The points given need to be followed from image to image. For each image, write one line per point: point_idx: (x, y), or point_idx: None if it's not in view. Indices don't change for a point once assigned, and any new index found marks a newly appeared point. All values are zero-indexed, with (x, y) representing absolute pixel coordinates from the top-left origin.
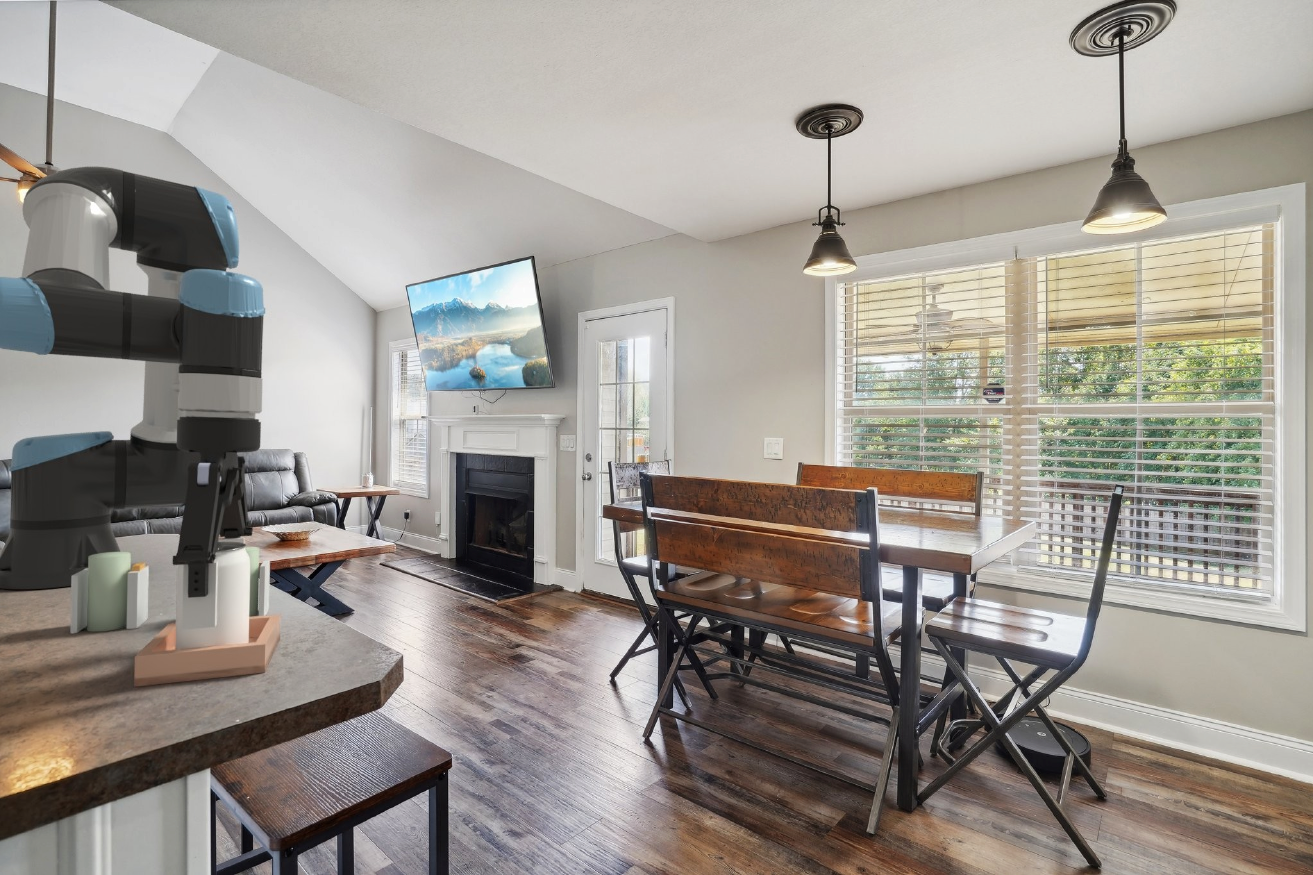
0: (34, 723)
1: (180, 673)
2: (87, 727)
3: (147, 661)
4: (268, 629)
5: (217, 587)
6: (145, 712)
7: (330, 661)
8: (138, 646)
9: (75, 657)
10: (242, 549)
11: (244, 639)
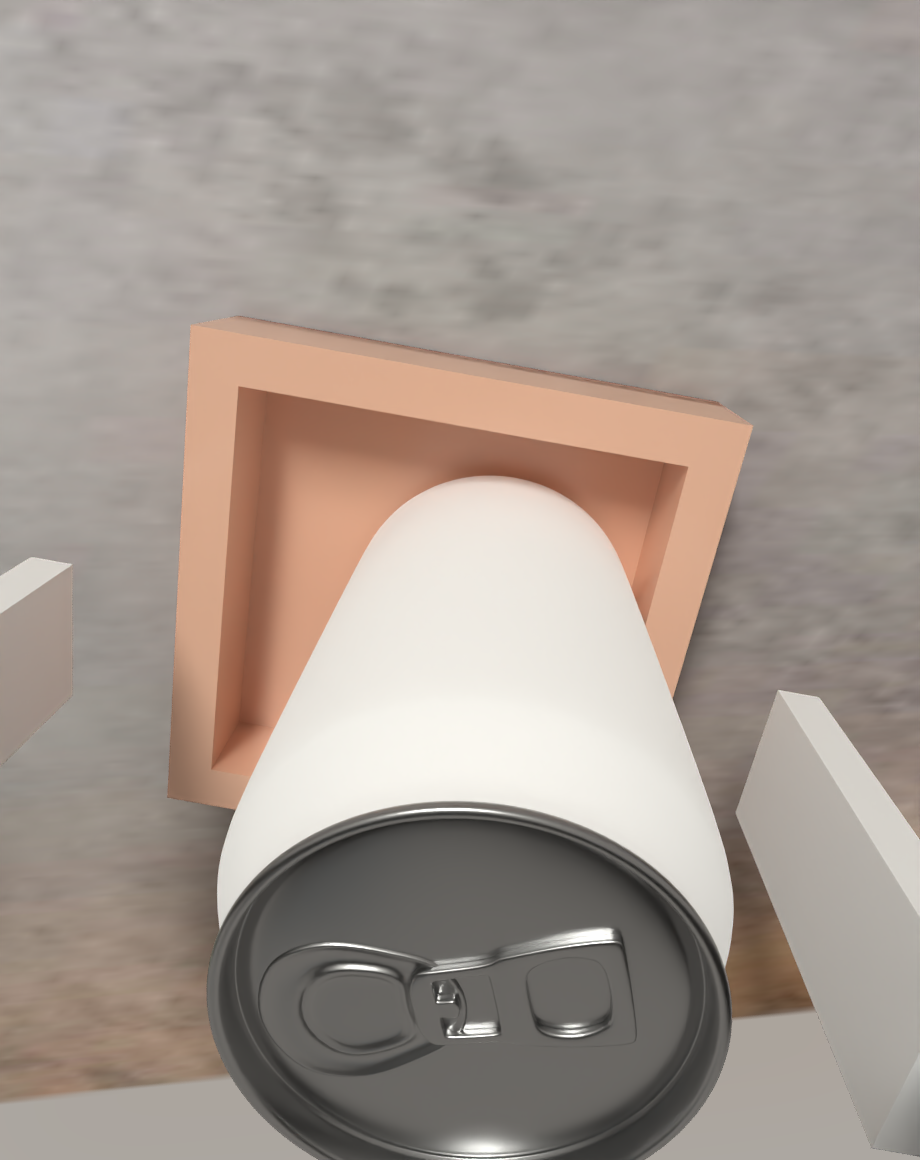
0: (772, 979)
1: None
2: None
3: None
4: (483, 401)
5: (858, 821)
6: (883, 759)
7: (736, 87)
8: (131, 819)
9: (189, 961)
10: (570, 818)
11: (567, 511)
